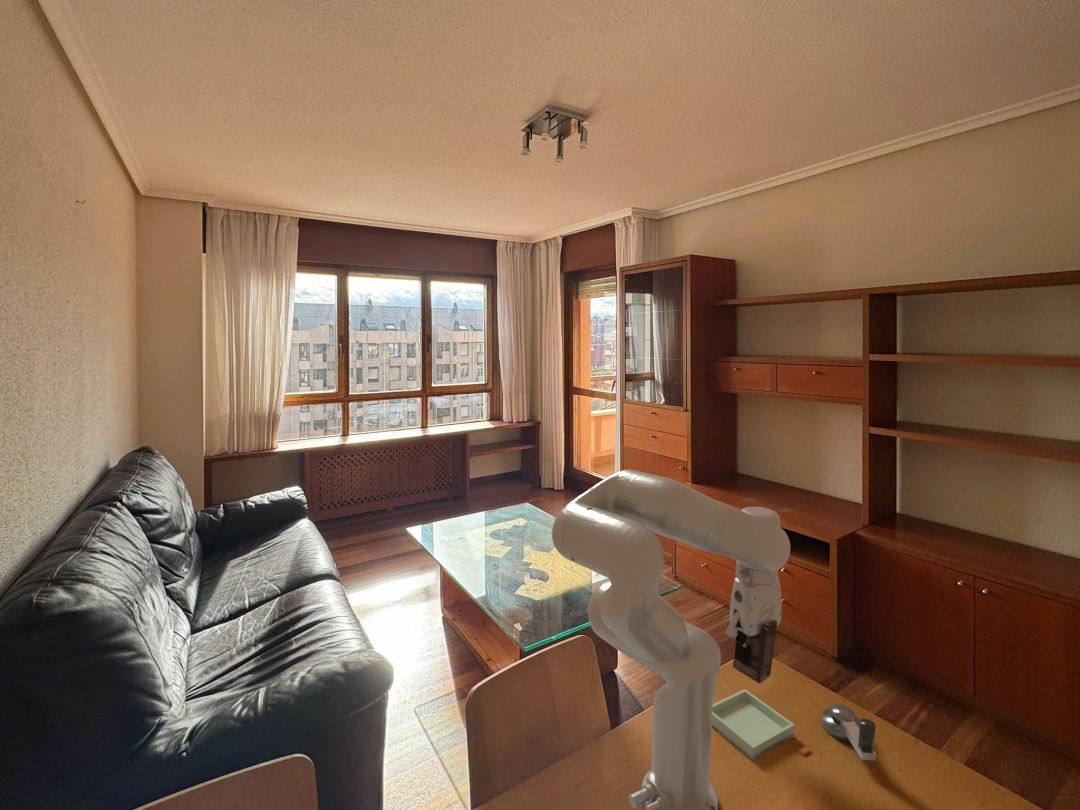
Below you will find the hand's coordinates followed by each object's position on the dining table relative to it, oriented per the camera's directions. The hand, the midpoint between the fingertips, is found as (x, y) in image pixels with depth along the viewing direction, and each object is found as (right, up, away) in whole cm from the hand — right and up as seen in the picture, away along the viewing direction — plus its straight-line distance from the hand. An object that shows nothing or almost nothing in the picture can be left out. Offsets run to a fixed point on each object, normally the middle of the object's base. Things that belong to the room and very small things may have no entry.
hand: (752, 657), depth 103 cm
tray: (0, -15, +2) cm, 15 cm away
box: (0, -3, +1) cm, 3 cm away
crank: (+18, -14, -3) cm, 23 cm away
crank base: (+15, -16, -1) cm, 21 cm away
